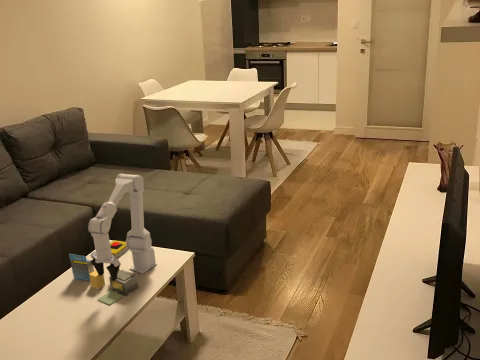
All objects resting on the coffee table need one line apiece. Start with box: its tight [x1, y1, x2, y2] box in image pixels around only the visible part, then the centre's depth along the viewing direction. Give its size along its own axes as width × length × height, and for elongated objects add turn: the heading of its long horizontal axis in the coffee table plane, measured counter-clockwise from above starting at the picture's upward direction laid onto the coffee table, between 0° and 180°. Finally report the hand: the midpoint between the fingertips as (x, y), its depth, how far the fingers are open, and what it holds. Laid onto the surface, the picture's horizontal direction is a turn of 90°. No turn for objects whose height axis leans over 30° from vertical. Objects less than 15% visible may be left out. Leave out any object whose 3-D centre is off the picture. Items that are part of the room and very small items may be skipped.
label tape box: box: [68, 253, 95, 282], centre depth 222 cm, size 9×4×12 cm, turn 70°
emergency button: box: [110, 240, 130, 260], centre depth 244 cm, size 9×4×15 cm
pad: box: [97, 290, 124, 306], centre depth 208 cm, size 7×7×1 cm
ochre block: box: [89, 269, 106, 290], centre depth 216 cm, size 4×4×6 cm
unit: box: [109, 269, 140, 297], centre depth 213 cm, size 7×9×6 cm
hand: (107, 277), depth 205 cm, fingers open, 7 cm apart
